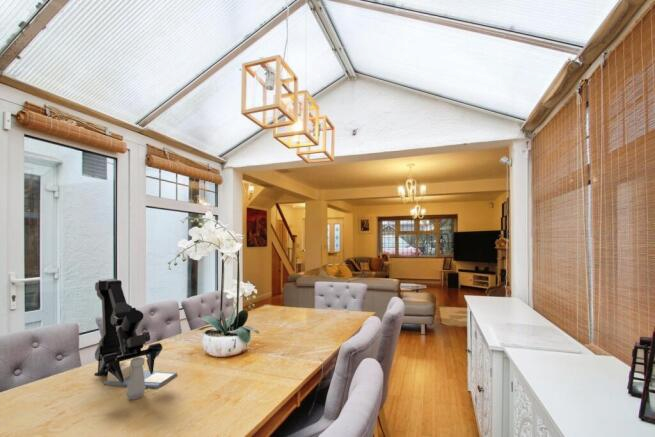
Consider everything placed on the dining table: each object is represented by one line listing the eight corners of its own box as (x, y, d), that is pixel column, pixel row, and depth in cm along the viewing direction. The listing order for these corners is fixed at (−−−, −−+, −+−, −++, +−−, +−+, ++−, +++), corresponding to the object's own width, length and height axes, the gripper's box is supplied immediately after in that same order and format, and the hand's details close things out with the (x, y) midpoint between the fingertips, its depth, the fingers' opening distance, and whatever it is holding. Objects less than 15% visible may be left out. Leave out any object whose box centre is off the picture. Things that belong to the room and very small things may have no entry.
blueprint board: (104, 384, 117) (105, 370, 117) (128, 371, 129) (129, 359, 129) (156, 388, 114) (157, 374, 114) (176, 375, 126) (177, 362, 126)
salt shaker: (135, 402, 104) (137, 362, 105) (121, 400, 105) (123, 361, 106) (148, 393, 110) (150, 356, 111) (135, 392, 111) (137, 355, 112)
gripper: (104, 331, 105) (112, 373, 97) (161, 321, 119) (173, 357, 111) (96, 350, 109) (103, 391, 101) (152, 338, 124) (162, 374, 116)
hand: (137, 377), depth 107 cm, fingers open, 9 cm apart
